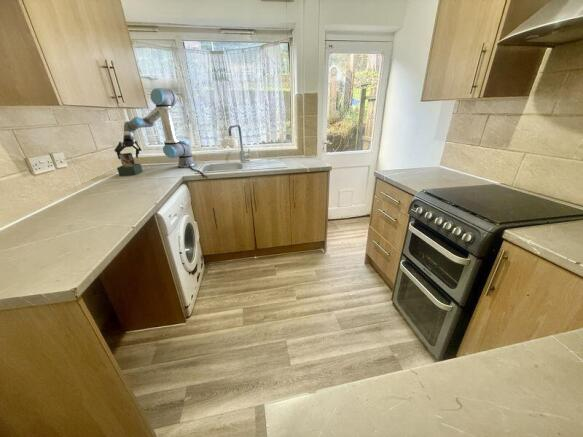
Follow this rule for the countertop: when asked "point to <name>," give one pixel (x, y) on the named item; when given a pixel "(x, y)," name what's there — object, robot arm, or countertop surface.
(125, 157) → the coffee box
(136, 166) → the tote
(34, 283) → the countertop surface
